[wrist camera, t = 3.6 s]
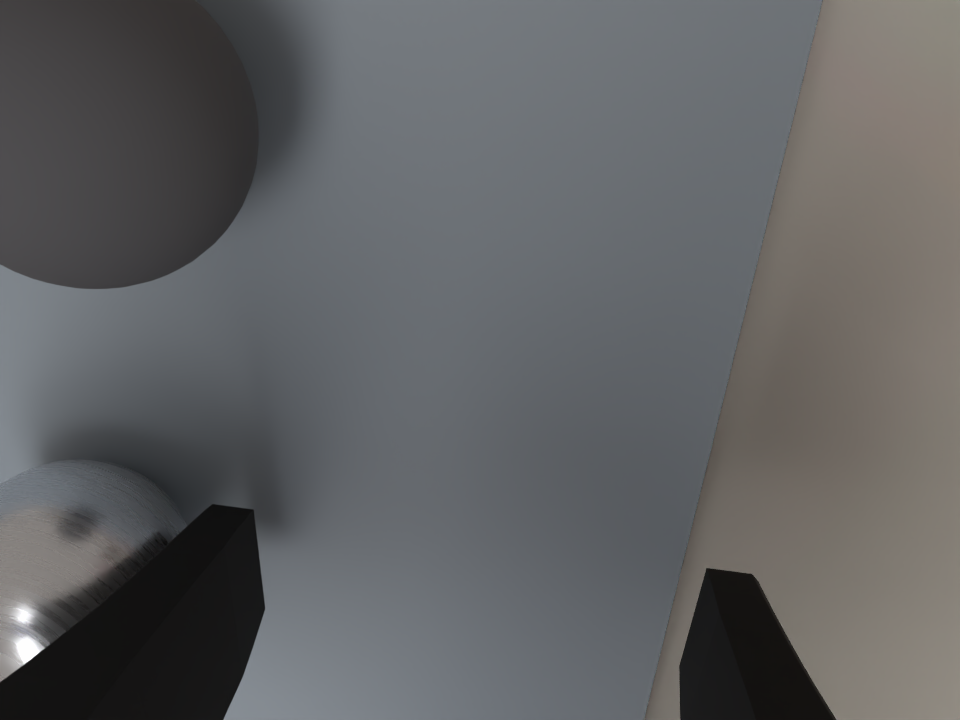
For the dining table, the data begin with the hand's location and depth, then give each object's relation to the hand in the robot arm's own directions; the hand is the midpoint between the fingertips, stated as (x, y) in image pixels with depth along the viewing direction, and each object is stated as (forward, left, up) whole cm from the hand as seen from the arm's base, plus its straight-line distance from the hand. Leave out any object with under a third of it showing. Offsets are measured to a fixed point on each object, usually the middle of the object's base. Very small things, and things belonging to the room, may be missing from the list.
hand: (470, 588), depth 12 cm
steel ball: (0, +6, +1) cm, 6 cm away
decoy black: (+6, +4, +1) cm, 8 cm away
